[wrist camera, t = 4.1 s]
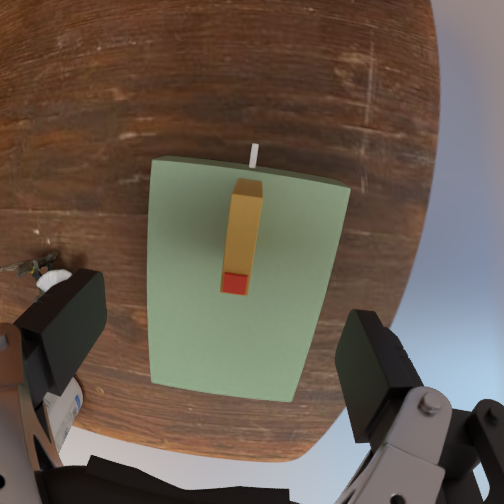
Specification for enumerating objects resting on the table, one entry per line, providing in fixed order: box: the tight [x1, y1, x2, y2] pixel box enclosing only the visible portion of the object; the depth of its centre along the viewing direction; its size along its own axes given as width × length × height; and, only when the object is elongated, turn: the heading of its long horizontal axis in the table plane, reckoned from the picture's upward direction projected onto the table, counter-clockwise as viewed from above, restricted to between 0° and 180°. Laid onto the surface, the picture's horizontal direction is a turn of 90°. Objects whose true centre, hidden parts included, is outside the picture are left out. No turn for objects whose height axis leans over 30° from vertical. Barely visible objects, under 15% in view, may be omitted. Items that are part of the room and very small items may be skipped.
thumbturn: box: [220, 178, 263, 296], centre depth 17 cm, size 5×1×5 cm, turn 172°
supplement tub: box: [44, 377, 83, 454], centre depth 23 cm, size 10×10×15 cm
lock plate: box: [147, 143, 351, 402], centre depth 22 cm, size 20×12×3 cm, turn 172°
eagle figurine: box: [0, 250, 72, 302], centre depth 22 cm, size 8×7×9 cm
